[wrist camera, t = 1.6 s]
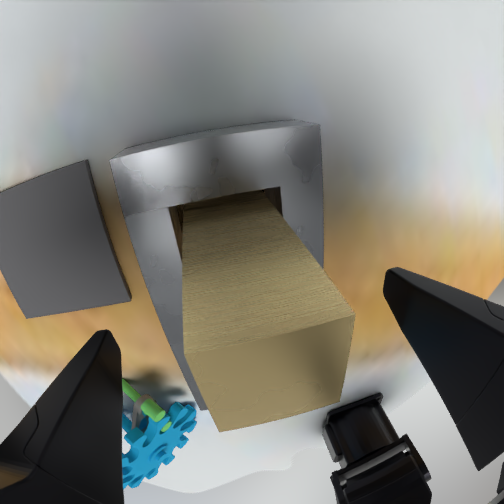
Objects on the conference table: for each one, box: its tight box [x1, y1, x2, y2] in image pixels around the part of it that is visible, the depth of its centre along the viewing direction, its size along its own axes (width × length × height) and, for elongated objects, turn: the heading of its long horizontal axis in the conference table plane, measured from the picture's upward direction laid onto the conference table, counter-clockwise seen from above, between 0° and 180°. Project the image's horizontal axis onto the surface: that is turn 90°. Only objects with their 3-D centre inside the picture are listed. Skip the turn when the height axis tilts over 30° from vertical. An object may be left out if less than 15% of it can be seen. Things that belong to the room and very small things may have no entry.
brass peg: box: [182, 190, 355, 432], centre depth 11 cm, size 3×3×10 cm
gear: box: [122, 379, 197, 489], centre depth 19 cm, size 11×6×10 cm
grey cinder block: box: [109, 120, 324, 410], centre depth 15 cm, size 8×16×3 cm, turn 6°
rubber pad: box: [0, 160, 132, 319], centre depth 13 cm, size 8×8×1 cm
